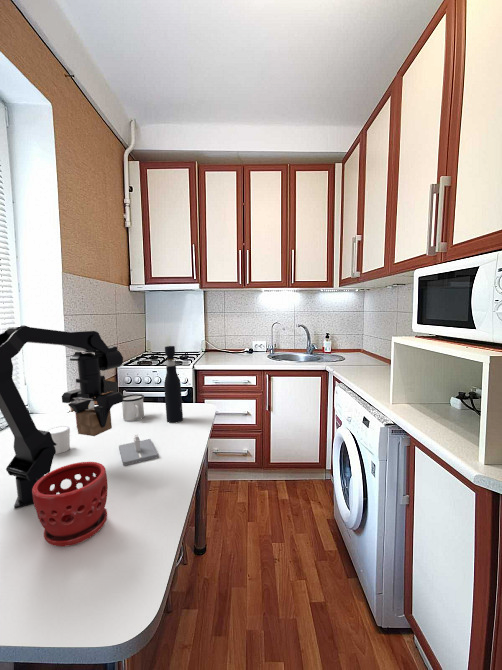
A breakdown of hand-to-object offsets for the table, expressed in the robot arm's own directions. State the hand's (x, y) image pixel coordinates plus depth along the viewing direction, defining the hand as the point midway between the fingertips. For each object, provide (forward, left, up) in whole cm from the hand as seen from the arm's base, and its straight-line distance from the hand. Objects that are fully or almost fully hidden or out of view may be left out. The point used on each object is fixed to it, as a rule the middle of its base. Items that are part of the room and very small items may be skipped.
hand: (94, 426), depth 98 cm
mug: (+37, -15, -12) cm, 42 cm away
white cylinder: (+18, +11, -12) cm, 24 cm away
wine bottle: (+25, -29, -12) cm, 40 cm away
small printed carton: (+41, +3, -12) cm, 43 cm away
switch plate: (+1, -11, -11) cm, 16 cm away
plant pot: (-32, +5, -12) cm, 34 cm away
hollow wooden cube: (0, 0, -2) cm, 2 cm away
